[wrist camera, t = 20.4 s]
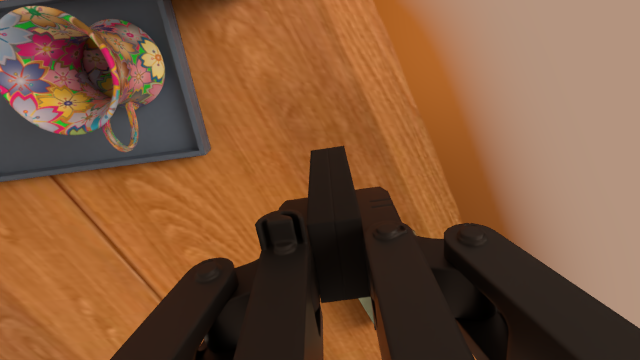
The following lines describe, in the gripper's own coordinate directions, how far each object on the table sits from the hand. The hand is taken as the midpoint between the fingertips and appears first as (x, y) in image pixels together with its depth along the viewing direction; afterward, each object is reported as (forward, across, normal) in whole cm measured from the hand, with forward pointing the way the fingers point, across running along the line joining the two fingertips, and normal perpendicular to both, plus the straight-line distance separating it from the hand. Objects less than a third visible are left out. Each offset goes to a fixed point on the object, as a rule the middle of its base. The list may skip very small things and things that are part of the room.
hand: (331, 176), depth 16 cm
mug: (+23, -19, +5) cm, 30 cm away
